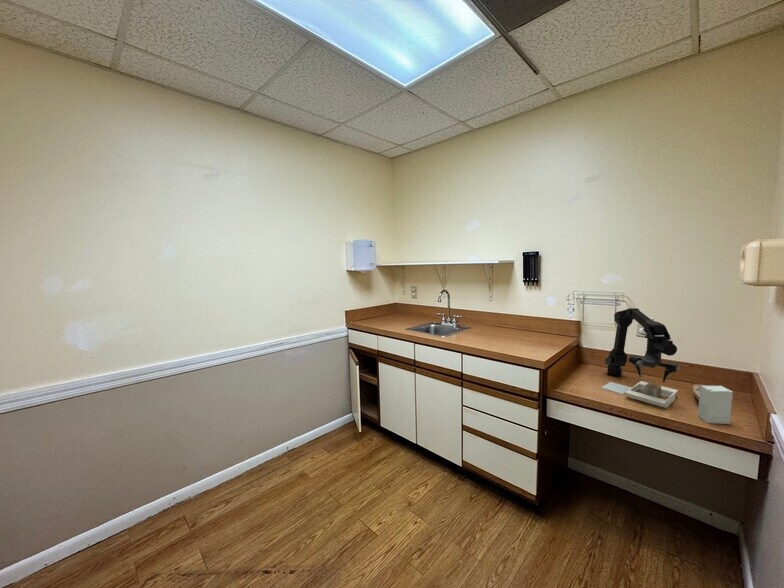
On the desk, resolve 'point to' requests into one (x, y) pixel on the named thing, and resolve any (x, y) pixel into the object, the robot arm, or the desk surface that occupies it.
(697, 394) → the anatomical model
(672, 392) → the white shallow rectangular tray
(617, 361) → the robot arm
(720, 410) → the skincare box
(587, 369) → the desk surface
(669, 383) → the desk surface
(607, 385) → the mat
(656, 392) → the box
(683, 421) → the desk surface
